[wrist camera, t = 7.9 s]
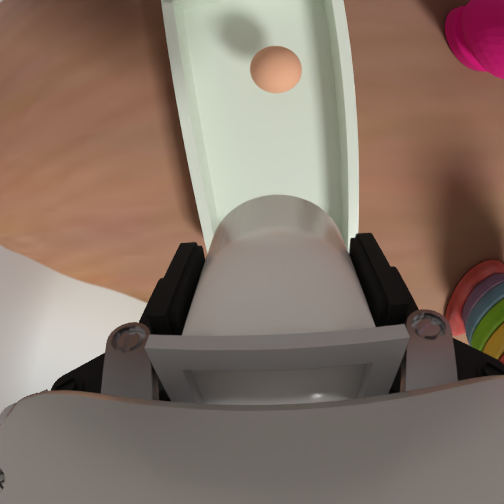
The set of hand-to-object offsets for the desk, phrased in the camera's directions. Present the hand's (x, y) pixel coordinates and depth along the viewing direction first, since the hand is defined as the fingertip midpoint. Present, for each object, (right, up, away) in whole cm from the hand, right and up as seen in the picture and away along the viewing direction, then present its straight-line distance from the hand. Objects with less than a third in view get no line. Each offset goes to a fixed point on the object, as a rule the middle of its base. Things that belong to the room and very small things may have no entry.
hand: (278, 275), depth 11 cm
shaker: (0, +1, +1) cm, 1 cm away
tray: (0, +11, +11) cm, 16 cm away
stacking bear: (+27, -4, +19) cm, 33 cm away
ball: (+1, +12, +6) cm, 13 cm away
